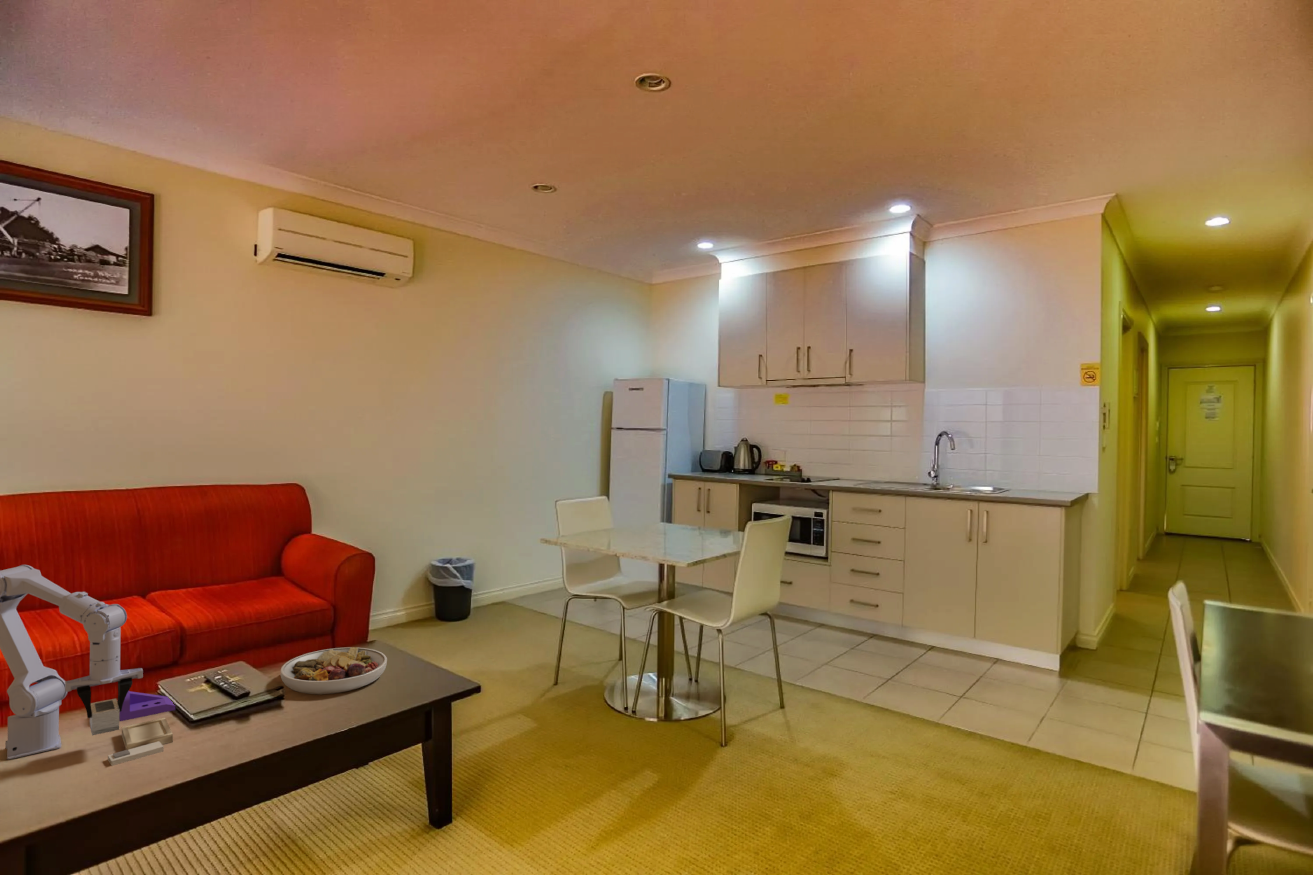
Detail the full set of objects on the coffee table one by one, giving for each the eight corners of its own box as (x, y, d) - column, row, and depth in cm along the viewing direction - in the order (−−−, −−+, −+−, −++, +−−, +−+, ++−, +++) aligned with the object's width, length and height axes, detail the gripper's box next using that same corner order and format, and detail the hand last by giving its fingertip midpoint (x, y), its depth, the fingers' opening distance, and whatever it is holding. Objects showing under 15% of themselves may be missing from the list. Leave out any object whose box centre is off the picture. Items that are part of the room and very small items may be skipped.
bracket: (119, 722, 181) (120, 696, 181) (118, 713, 186) (118, 688, 186) (175, 710, 189) (175, 686, 189) (171, 702, 194) (172, 678, 194)
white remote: (163, 752, 166) (163, 744, 166) (111, 767, 159) (111, 759, 159) (159, 747, 169) (159, 739, 169) (107, 761, 162) (107, 753, 162)
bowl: (261, 681, 212) (261, 655, 211) (352, 655, 236) (353, 632, 236) (313, 707, 194) (314, 679, 194) (406, 676, 219) (406, 652, 219)
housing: (92, 735, 161) (92, 714, 161) (89, 723, 167) (90, 703, 167) (119, 729, 164) (119, 708, 164) (115, 718, 170) (116, 698, 170)
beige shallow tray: (127, 752, 165) (127, 744, 165) (121, 734, 174) (121, 726, 174) (172, 741, 171) (172, 733, 171) (165, 724, 180) (165, 717, 180)
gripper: (66, 668, 158) (65, 727, 158) (144, 655, 167) (143, 710, 168) (64, 660, 163) (64, 716, 163) (141, 647, 173) (140, 701, 173)
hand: (104, 713), depth 166 cm, fingers closed on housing, 5 cm apart
